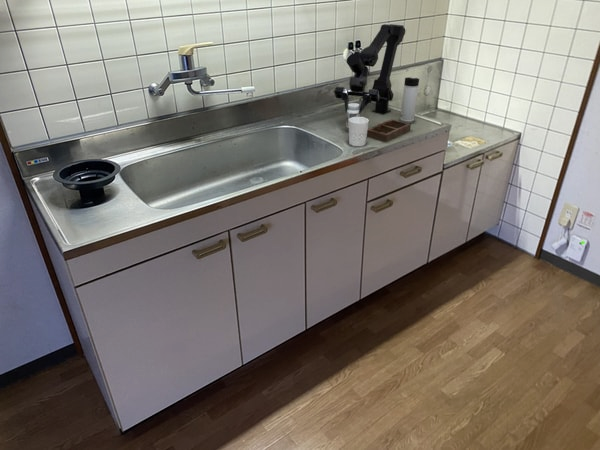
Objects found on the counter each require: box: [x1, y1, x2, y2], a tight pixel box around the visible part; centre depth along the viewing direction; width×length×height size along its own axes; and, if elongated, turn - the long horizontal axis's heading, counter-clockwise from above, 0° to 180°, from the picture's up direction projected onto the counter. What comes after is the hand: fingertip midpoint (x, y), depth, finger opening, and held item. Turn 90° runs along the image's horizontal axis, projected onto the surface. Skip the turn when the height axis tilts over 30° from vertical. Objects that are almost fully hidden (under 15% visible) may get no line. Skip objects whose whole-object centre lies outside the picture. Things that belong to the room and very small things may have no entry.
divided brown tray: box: [366, 118, 412, 143], centre depth 199 cm, size 19×10×3 cm, turn 136°
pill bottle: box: [345, 102, 361, 129], centre depth 197 cm, size 6×6×10 cm
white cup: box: [348, 116, 370, 147], centre depth 187 cm, size 8×8×10 cm
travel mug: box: [399, 77, 420, 124], centre depth 207 cm, size 6×7×20 cm
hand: (352, 112), depth 195 cm, fingers closed on pill bottle, 5 cm apart
